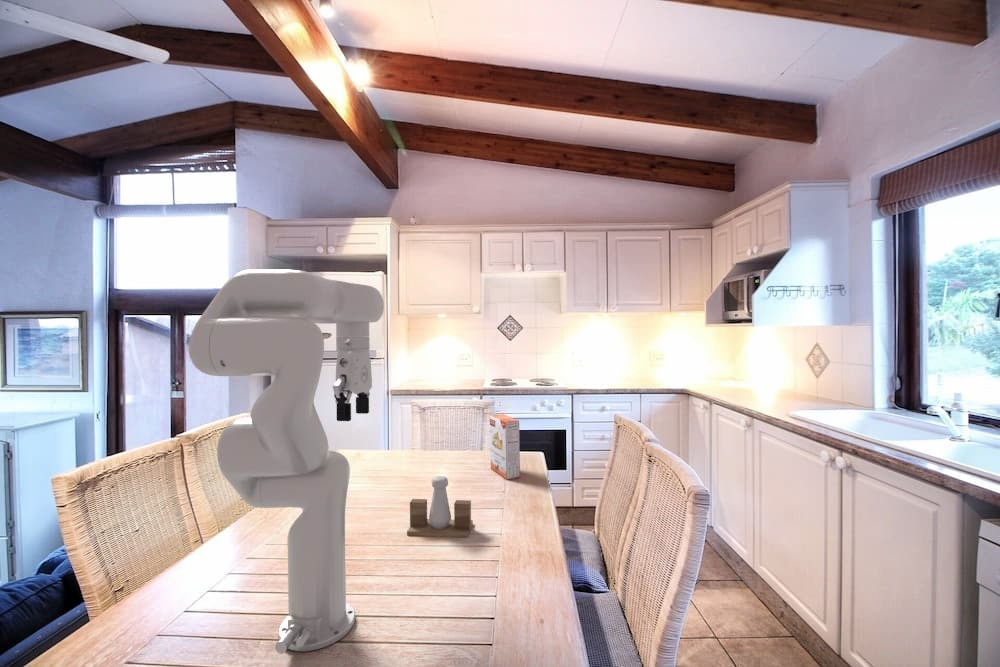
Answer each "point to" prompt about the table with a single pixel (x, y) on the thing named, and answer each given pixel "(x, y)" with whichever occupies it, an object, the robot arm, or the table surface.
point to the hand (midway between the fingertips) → (353, 416)
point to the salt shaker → (440, 504)
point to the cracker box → (505, 446)
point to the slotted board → (454, 528)
